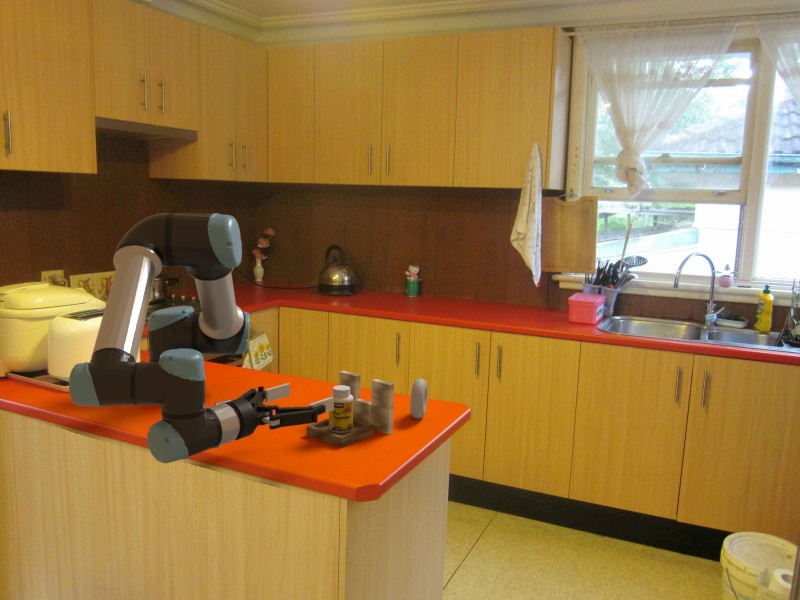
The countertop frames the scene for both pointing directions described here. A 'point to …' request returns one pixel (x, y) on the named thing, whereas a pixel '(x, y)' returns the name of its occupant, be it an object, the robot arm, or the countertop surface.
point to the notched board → (378, 408)
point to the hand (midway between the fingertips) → (310, 396)
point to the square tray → (340, 440)
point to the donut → (419, 398)
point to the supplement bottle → (341, 410)
